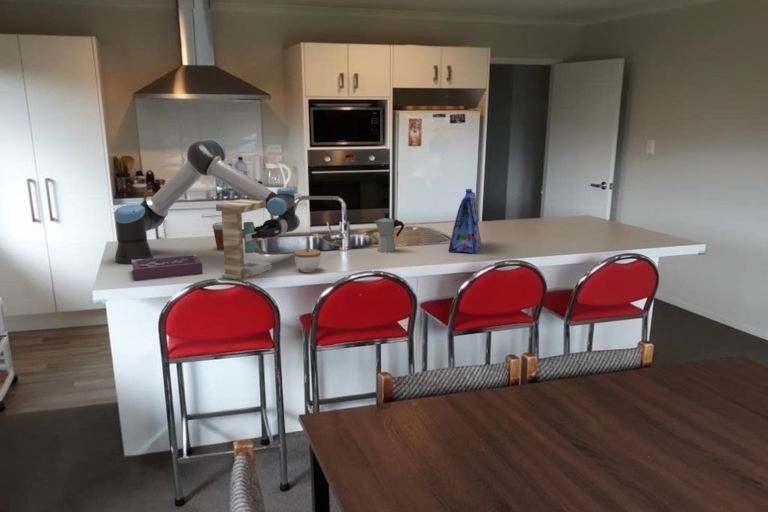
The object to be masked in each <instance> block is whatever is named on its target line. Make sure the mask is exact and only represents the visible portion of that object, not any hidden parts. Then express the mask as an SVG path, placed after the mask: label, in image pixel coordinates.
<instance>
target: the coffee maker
mask: <svg viewBox="0 0 768 512" xmlns="http://www.w3.org/2000/svg"><path fill="white" fill-rule="evenodd" d="M389 215H390V212H384V215H383V216H384V217H383V218H380V219H378V220H373V222H374V223H375V226H376V227H377V229H378V233H379V238H378V243H377V252H379V253H384V252H386V253H385V254H389V253H388V252H390V253H395V252H396V251H395V250H396V243H395V238H394V234H395V228H396V227H399V226H400V228H399V230H398V232H397V233H396V234H395V236H396V237H397V238H398V237H399V235H400V234H401V232H402V231H403V229H404V227H405V224H404V223H403V221H402V220H398V219H393V218H390V217H389Z"/></svg>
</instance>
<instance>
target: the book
mask: <svg viewBox="0 0 768 512" xmlns="http://www.w3.org/2000/svg"><path fill="white" fill-rule="evenodd" d="M131 262H132V264H131V266H132V275H133V280H134V282H136V281H146V280H155V279H157V280H158V279H165V278H175V277H183V276H184V277H185V276H192V275H193V276H195V275H203V265H202V264H203V263H202V261H201V259H200V258H199V256H198V254H196V253H195V254H186V255H185V254H184V255H177V256H175V255H174V256H165V257H153V258H151V259H137V260H131Z"/></svg>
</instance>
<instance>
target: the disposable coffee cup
mask: <svg viewBox="0 0 768 512" xmlns="http://www.w3.org/2000/svg"><path fill="white" fill-rule="evenodd" d="M211 227H212V230H213V234H214V240H215V243H216V249H217V250H219V249H220V250H219V251H224V244H223V228H222V221H220V222H219V221H218V222H213V224H212V226H211Z"/></svg>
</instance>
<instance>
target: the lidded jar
mask: <svg viewBox="0 0 768 512" xmlns="http://www.w3.org/2000/svg"><path fill="white" fill-rule="evenodd" d="M321 252H322V251H320V250H319V249H314V248H309V247H306V248H305V249H304V248H303V249H297V250H295V251H294V253H293V255H294V263H295V265H296V267H297V268H298V269H299V270H300V271H301V272H304V273H312V272H315V271H316V270H317V268H318V267H319V266H320V263H321V254H322V253H321Z"/></svg>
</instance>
